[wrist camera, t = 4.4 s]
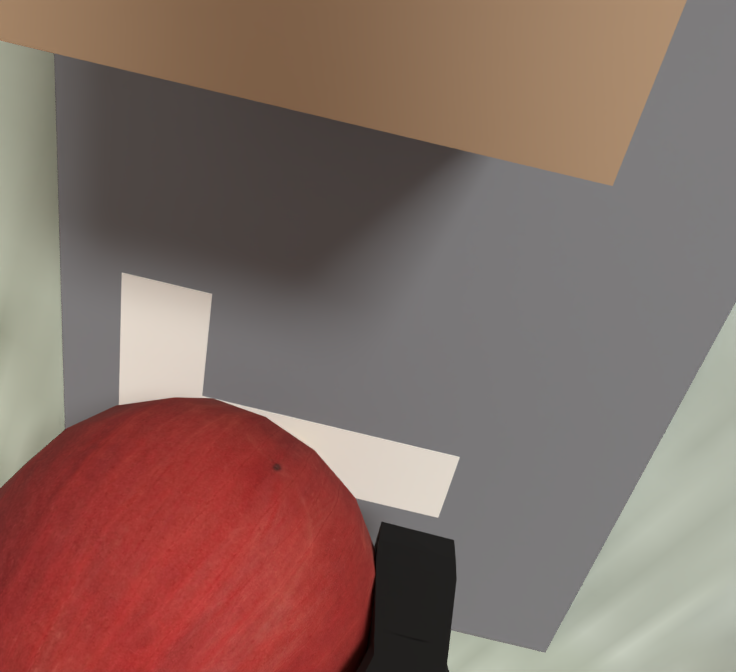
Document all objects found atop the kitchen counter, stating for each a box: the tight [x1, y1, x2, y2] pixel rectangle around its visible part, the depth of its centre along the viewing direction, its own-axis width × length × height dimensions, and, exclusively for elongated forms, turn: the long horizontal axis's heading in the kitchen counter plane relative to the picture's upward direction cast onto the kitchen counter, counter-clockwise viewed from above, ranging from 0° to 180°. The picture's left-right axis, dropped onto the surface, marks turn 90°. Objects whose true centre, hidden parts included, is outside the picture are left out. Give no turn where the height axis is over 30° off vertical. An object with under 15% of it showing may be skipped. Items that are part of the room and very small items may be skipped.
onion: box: [0, 397, 376, 672], centre depth 9 cm, size 6×6×8 cm
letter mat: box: [54, 0, 736, 652], centre depth 11 cm, size 11×18×1 cm, turn 168°
